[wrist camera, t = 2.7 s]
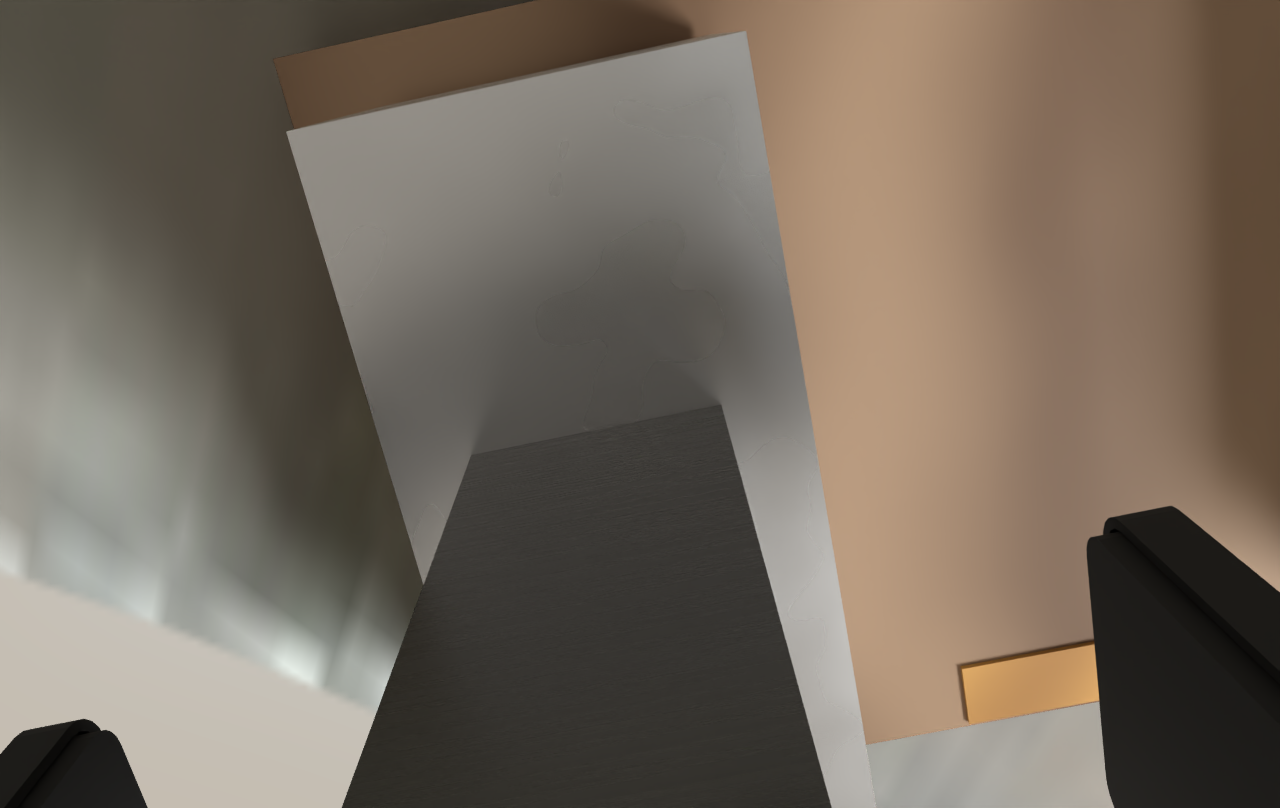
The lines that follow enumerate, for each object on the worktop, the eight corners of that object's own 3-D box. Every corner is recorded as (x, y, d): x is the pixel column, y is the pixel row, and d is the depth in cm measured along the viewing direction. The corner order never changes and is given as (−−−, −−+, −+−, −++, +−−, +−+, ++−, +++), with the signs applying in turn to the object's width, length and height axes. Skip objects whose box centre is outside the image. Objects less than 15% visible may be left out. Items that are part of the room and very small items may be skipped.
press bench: (1778, -270, 17) (2509, -468, 11) (1693, 525, 22) (2171, 740, 15) (309, 57, 18) (131, 64, 12) (509, 747, 23) (462, 1040, 16)
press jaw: (709, 34, 16) (993, 5, 4) (842, 777, 20) (1182, 1914, 8) (383, 105, 16) (-341, 294, 4) (580, 826, 21) (516, 1999, 8)
